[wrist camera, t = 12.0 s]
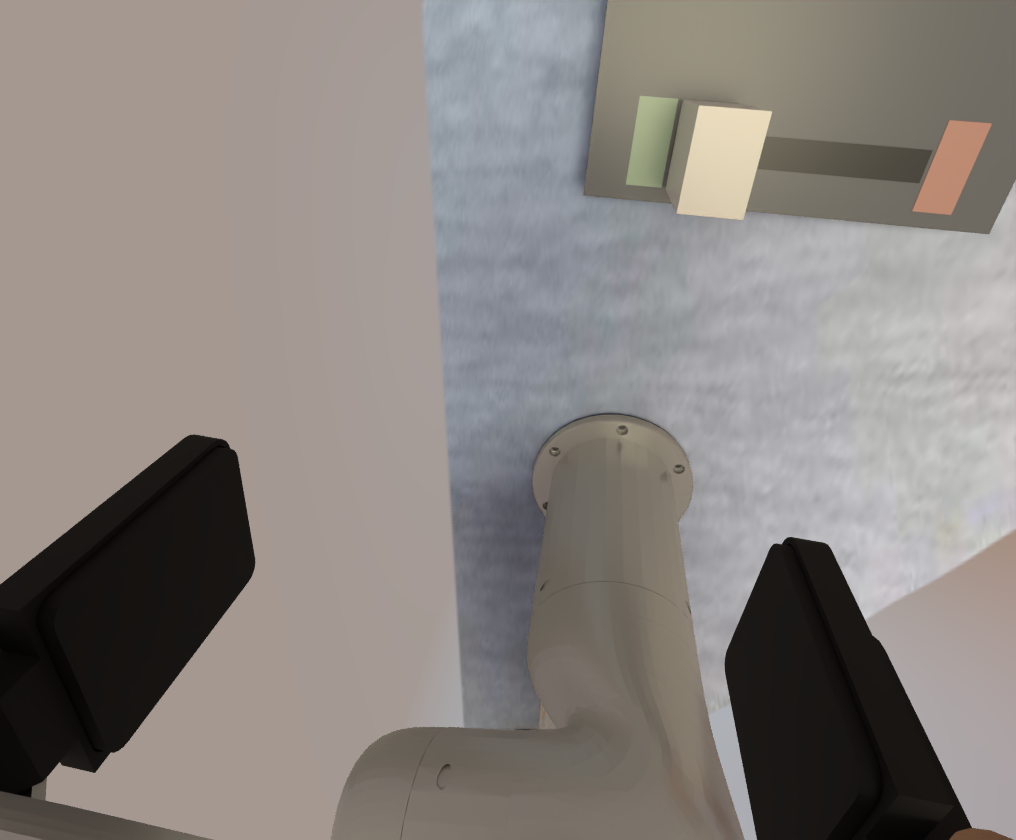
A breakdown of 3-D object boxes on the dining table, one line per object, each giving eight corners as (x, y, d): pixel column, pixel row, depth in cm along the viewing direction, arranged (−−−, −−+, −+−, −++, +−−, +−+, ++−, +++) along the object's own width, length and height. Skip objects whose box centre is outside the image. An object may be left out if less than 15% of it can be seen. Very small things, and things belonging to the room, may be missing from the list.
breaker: (720, 194, 32) (743, 220, 26) (665, 189, 32) (676, 213, 27) (742, 103, 30) (772, 111, 24) (682, 99, 30) (699, 105, 24)
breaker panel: (960, 222, 34) (989, 234, 31) (585, 186, 36) (583, 195, 33) (1161, -215, 25) (1226, -250, 22) (637, -229, 27) (640, -261, 24)
